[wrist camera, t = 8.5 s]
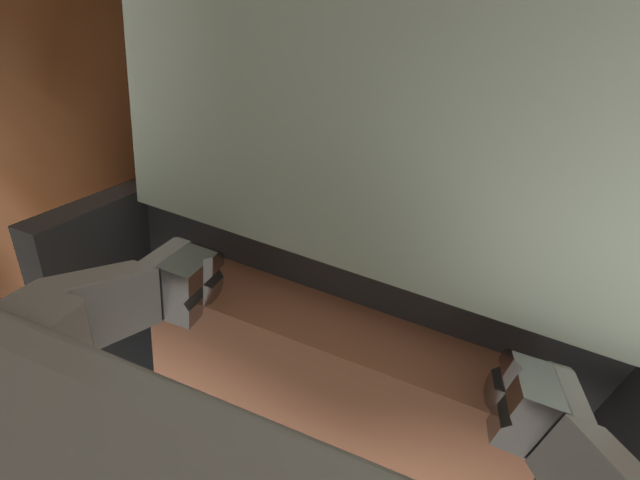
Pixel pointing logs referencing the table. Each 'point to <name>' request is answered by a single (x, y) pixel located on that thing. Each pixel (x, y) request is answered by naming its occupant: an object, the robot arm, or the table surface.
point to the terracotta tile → (342, 376)
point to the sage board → (410, 145)
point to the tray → (161, 226)
